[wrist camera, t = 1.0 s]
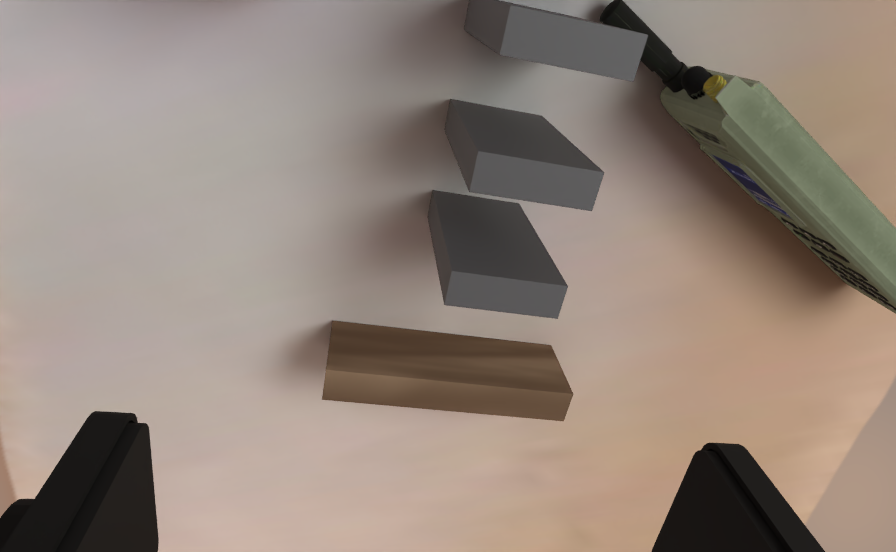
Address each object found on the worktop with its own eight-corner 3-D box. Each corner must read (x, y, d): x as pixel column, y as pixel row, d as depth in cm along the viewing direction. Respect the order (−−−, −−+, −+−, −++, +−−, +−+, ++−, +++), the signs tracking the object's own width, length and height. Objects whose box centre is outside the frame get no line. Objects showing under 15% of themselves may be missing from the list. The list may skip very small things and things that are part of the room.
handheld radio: (840, 289, 39) (574, 36, 30) (880, 251, 38) (620, -21, 29) (926, 342, 33) (627, 47, 24) (976, 299, 32) (685, -24, 23)
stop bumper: (332, 320, 36) (326, 369, 32) (551, 345, 39) (573, 393, 34) (329, 348, 37) (322, 399, 33) (543, 370, 39) (563, 421, 35)
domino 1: (470, -6, 29) (510, 4, 20) (568, 15, 30) (648, 34, 21) (463, 29, 29) (499, 54, 21) (559, 49, 30) (633, 81, 21)
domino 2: (450, 99, 31) (478, 151, 22) (541, 115, 32) (604, 172, 23) (444, 129, 32) (469, 191, 23) (534, 145, 32) (591, 211, 24)
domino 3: (432, 190, 33) (451, 270, 24) (519, 203, 34) (567, 286, 25) (427, 216, 34) (444, 304, 25) (512, 229, 35) (557, 318, 26)
